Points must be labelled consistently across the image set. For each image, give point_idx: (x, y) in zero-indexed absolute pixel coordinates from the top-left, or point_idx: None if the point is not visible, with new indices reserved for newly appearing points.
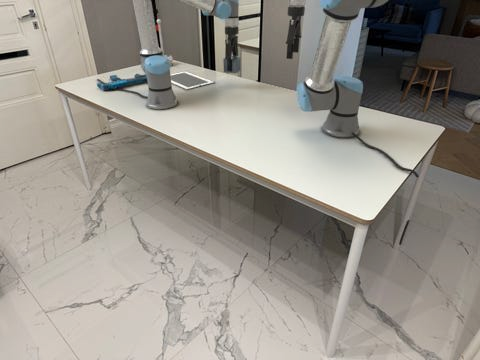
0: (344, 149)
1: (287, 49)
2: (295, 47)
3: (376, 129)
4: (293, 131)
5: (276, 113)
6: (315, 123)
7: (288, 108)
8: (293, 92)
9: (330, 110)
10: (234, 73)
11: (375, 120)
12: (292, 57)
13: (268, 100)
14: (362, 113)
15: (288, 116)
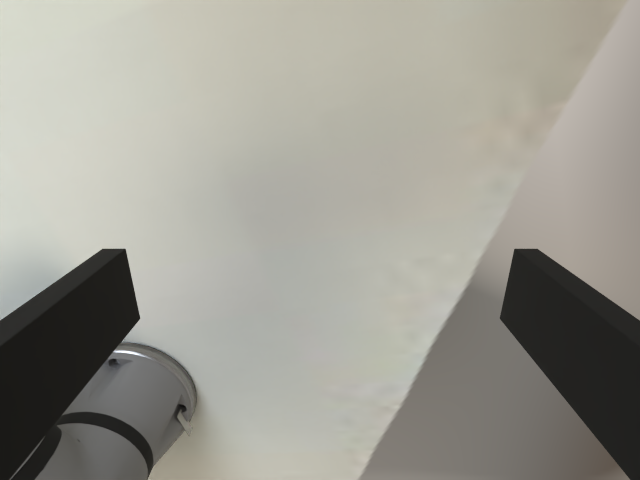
0: None
1: (8, 324)
2: (547, 319)
3: (203, 473)
4: (31, 249)
5: (181, 129)
6: (154, 311)
7: (272, 172)
8: (533, 143)
9: (60, 420)
10: None
11: (276, 470)
12: (126, 327)
13: (357, 25)
14: (326, 438)
15: (172, 196)
